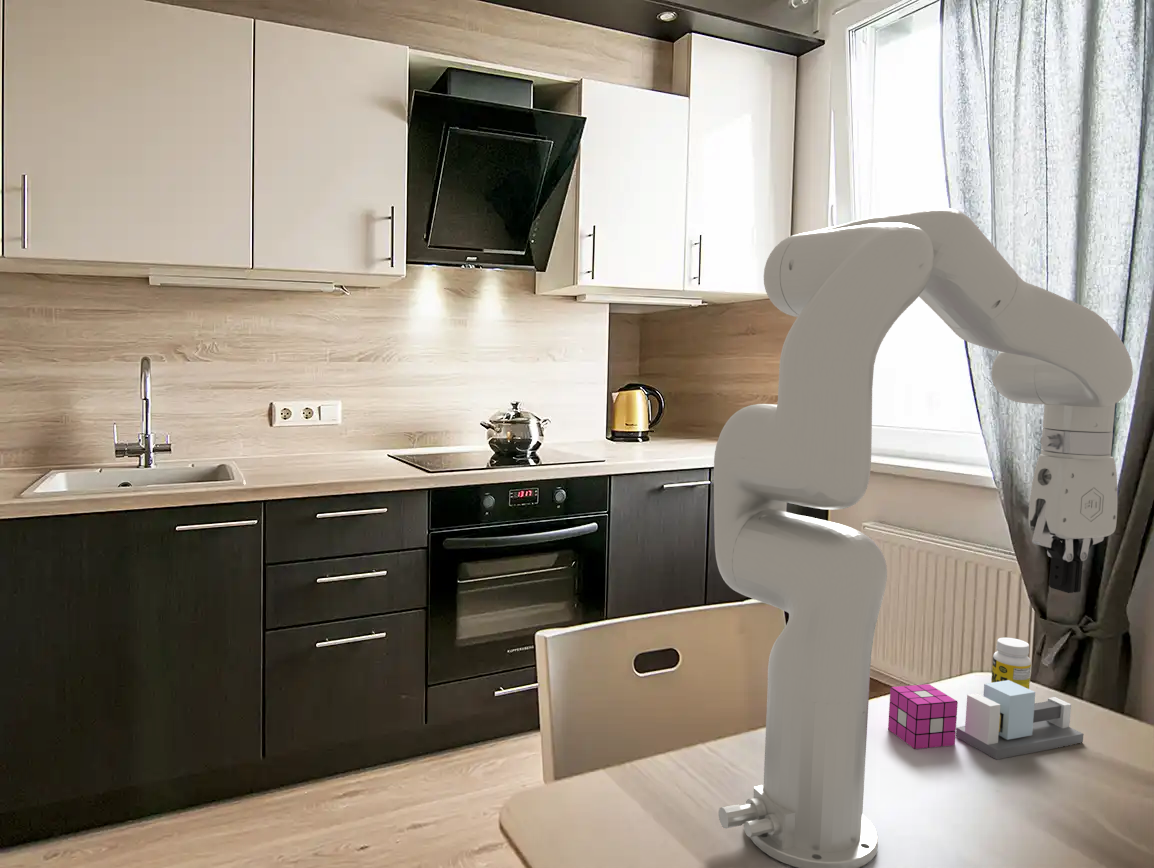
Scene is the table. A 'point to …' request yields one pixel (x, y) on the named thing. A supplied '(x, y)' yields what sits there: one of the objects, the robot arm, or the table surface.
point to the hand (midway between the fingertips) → (1064, 589)
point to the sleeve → (1013, 707)
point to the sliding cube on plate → (1045, 735)
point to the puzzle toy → (922, 716)
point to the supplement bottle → (1011, 662)
